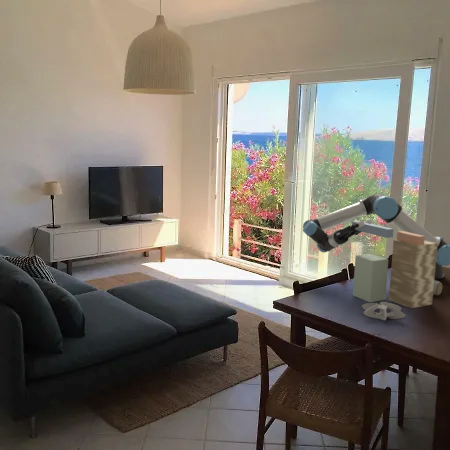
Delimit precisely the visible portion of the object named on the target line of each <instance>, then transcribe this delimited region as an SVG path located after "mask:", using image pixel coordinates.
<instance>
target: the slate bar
mask: <svg viewBox="0 0 450 450" xmlns="http://www.w3.org/2000/svg"><path fill="white" fill-rule="evenodd" d="M360 221H361V220H352V222H351V226H352V225H355V224H356V223H358V222H360ZM364 223H365V226H363V227H361V228H359V229H357V230H358V231H362V232H361V233H366V234H370V235H375V236H378V237H381V238H386V239H389V238H394V230H395V229H394V228H391V227H387V226H383V225H379V224H374V223H372V224H370V223H366V221H364ZM355 230H356V229H355Z"/></svg>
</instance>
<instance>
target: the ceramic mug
mask: <svg viewBox="0 0 450 450" xmlns="http://www.w3.org/2000/svg"><path fill="white" fill-rule="evenodd" d="M442 290H443V283H442V282H440V281H438V280H436V279H434V288H433V296H440V295H441V293H442Z"/></svg>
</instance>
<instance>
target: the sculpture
mask: <svg viewBox="0 0 450 450" xmlns="http://www.w3.org/2000/svg"><path fill="white" fill-rule="evenodd" d="M361 307H362V309H364V311H363V315H364V316H366V317H369V318H373V319H377V320H381V321H387V319H389V320H390V319H393V320H396V319H403V318H406V314H405V313H404V312H402V307H401V306H400V305H397V304H394V303H391V302H386V301H379V304H378V303H377V302H368V303H364V304H362V305H361ZM377 309H379V312H377V311H375V310H377ZM387 309H388V310H391V311H390V312H387Z"/></svg>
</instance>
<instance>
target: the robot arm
mask: <svg viewBox="0 0 450 450" xmlns="http://www.w3.org/2000/svg"><path fill="white" fill-rule="evenodd" d="M369 215H376V216H377V217H378V218H380V219H381V220H383V222H385V223H386V224H392V225H393V226H395V228H397V229H398V230H399V231H405V232H410V233H414V234H418V235H423V236H425V240H426V241H431V242H435V243H438V246H437V257H436V267H435V278H434V280H437V279H438V280H440V279H444V276H445V272H444V268H443V267H445V266H446V267H447V266H450V244H449V243H447V242H446V240H445V239H444V237H443V236H434V235H433V234H432V233H430V232H429V231H428V230H426V229H425V227H423V226H422V225H420V224H419V223H418V222H417V221H415V220H414V219H413V218H412V217H410V216H409V215H408V214H407V213H406V212H404V211H403V207H402V206H401V205H400V204H399V203H398V202H397V200H395V198H393V197H392V196H390V195H386V194H383V193H374V194H370V195H369V196H367V197H364V198H362V199H359V201H358V202H356V203H353V204H351V205H348V206H346V207H343V208H340V209H338V210H335V211H332V212H330V213H327V214H325V215H321V216H320V217H316V218H314V219H307V220H305V221H304V223H303V225H302V232H303V233H304V234H305V235H306V236H308V237H309V239H311V240H313V242H314V243H316V247H317V249H318V250H319V252H321V253H323V254H324V253H328V252H331V251H332V250H334V249H335V248H339V247H340V246H341V245H343V244H346V243H347V242H348V241H349V238H351V237H352V236H357V235H359V234H360V233H363V232H362V231H358V230H357V229H359V228H361V227H363V226H365V223H364V222H366V223H370V224H373V222H372V219H368V220H366V221H364V219H362V220H359V221H360V222H358V223H356V224H355V225H352V224H351V225H347V226H346V227H344V228H340V229H337V230H336V231H333V232H332V233H330V234H328V233H327V232H326V231H325V230H327V229H329V228H332V227H336V226H337V225H340V224H343V223H346V222H348V221H351V220H354V219H357V218H358V217H362V216H365V217H366V216H369ZM355 229H356V230H355Z"/></svg>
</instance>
